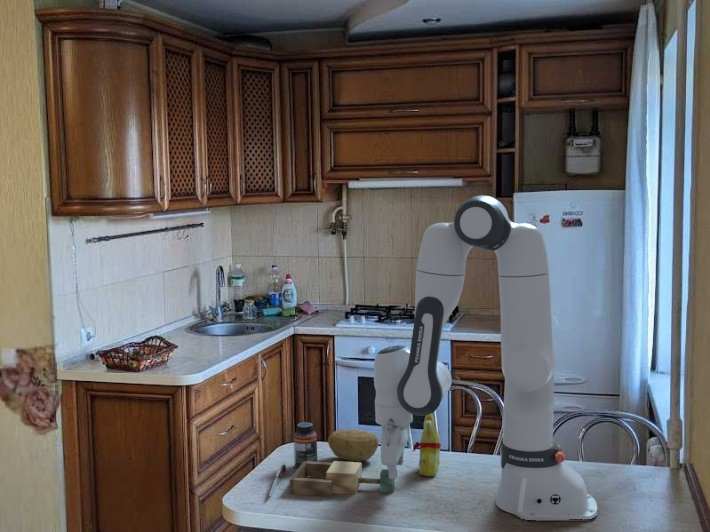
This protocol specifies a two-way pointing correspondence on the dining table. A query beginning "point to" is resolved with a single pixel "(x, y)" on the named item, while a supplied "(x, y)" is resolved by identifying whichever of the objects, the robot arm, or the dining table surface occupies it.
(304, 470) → the tan piece
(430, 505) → the dining table surface
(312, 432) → the supplement bottle
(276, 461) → the dining table surface
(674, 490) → the dining table surface
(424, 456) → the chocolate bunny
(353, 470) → the oak block with dowel handle
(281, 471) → the knife
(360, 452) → the potato
